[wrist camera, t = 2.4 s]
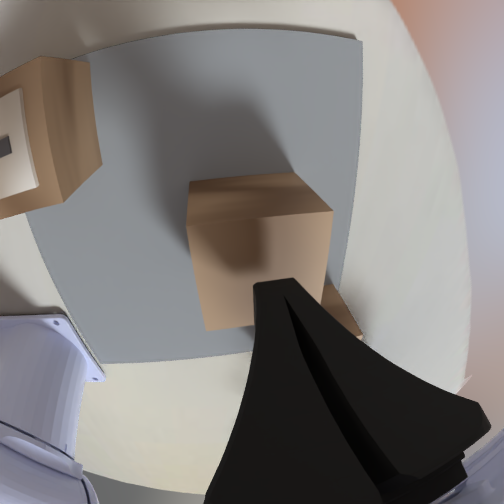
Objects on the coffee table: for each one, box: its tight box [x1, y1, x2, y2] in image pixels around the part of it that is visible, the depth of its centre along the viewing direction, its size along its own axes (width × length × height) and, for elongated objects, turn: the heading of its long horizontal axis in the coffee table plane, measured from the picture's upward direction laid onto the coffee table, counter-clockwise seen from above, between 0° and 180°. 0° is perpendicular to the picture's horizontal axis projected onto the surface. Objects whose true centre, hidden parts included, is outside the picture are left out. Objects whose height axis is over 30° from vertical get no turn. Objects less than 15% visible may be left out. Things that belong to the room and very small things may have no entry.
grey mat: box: [25, 29, 363, 364], centre depth 14 cm, size 18×20×1 cm
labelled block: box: [0, 56, 103, 219], centre depth 8 cm, size 5×5×5 cm
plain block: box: [186, 172, 334, 331], centre depth 12 cm, size 5×5×4 cm
